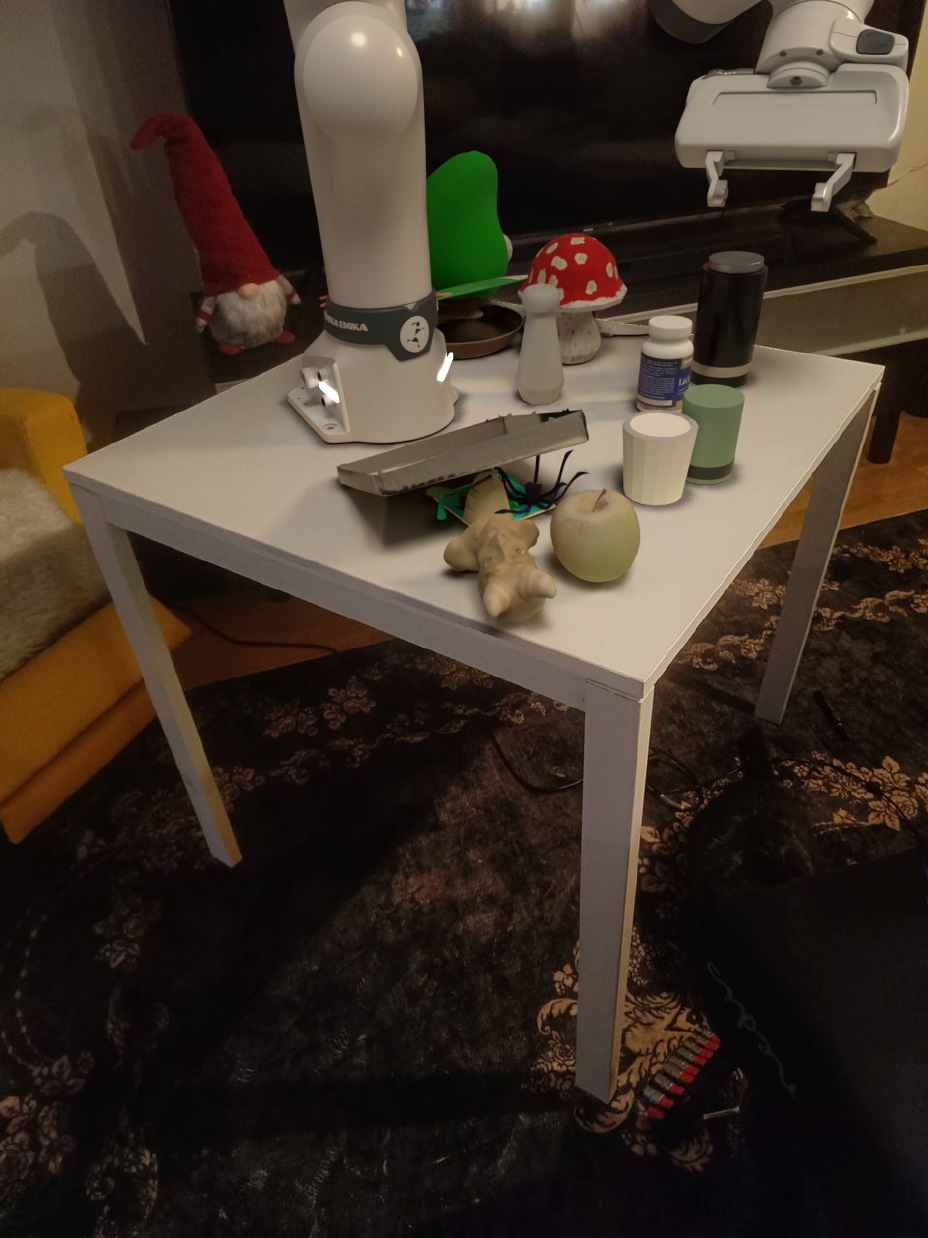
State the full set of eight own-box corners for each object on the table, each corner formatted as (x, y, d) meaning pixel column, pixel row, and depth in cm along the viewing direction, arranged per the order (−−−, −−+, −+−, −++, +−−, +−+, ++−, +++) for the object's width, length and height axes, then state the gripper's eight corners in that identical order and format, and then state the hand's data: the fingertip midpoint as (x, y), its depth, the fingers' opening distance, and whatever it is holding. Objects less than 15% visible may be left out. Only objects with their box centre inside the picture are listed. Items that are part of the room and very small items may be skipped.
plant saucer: (492, 313, 123) (491, 293, 121) (545, 348, 110) (545, 326, 108) (383, 336, 118) (380, 315, 116) (426, 375, 105) (424, 352, 103)
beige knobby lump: (441, 570, 69) (471, 657, 59) (436, 497, 65) (469, 578, 55) (532, 556, 70) (576, 640, 61) (534, 484, 66) (582, 561, 56)
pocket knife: (559, 332, 113) (559, 325, 114) (559, 338, 113) (559, 331, 115) (658, 331, 111) (656, 324, 113) (657, 336, 112) (655, 329, 113)
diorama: (409, 507, 77) (404, 455, 74) (534, 463, 83) (535, 413, 80) (473, 560, 70) (471, 504, 66) (606, 507, 76) (610, 453, 72)
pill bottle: (686, 419, 90) (697, 330, 84) (634, 417, 91) (642, 329, 85) (685, 398, 95) (696, 312, 88) (636, 397, 96) (644, 312, 90)
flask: (675, 377, 100) (690, 258, 91) (712, 362, 103) (729, 246, 95) (724, 393, 95) (744, 270, 87) (761, 377, 99) (783, 256, 90)
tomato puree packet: (430, 306, 99) (558, 275, 107) (428, 296, 98) (557, 266, 106) (378, 309, 111) (497, 281, 119) (376, 300, 111) (495, 273, 119)
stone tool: (481, 305, 105) (371, 307, 107) (482, 328, 106) (373, 331, 109) (494, 290, 116) (395, 292, 119) (495, 311, 118) (396, 314, 120)
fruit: (654, 563, 68) (664, 479, 63) (610, 606, 63) (618, 519, 58) (577, 536, 72) (581, 455, 67) (531, 575, 67) (531, 491, 62)
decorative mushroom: (498, 364, 106) (496, 242, 96) (549, 332, 115) (551, 217, 105) (593, 382, 99) (601, 253, 90) (639, 347, 108) (650, 226, 99)
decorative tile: (378, 511, 64) (598, 441, 69) (367, 474, 63) (590, 405, 68) (341, 493, 83) (515, 439, 87) (332, 464, 82) (508, 410, 86)
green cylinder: (661, 470, 81) (670, 395, 76) (697, 453, 84) (708, 378, 79) (707, 490, 77) (720, 413, 72) (743, 471, 80) (758, 395, 75)
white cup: (674, 515, 74) (683, 446, 70) (605, 498, 77) (610, 431, 73) (699, 483, 79) (709, 416, 74) (633, 468, 82) (639, 403, 77)
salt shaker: (573, 396, 97) (578, 284, 89) (543, 412, 94) (545, 297, 86) (535, 385, 100) (536, 276, 92) (506, 400, 97) (504, 288, 89)
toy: (408, 285, 138) (468, 348, 138) (332, 296, 118) (403, 369, 118) (502, 149, 123) (570, 220, 123) (434, 134, 103) (515, 218, 103)
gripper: (691, 45, 77) (652, 179, 76) (929, 36, 69) (887, 186, 68) (697, 95, 82) (661, 220, 82) (917, 92, 74) (878, 231, 74)
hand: (765, 205), depth 75 cm, fingers open, 8 cm apart
